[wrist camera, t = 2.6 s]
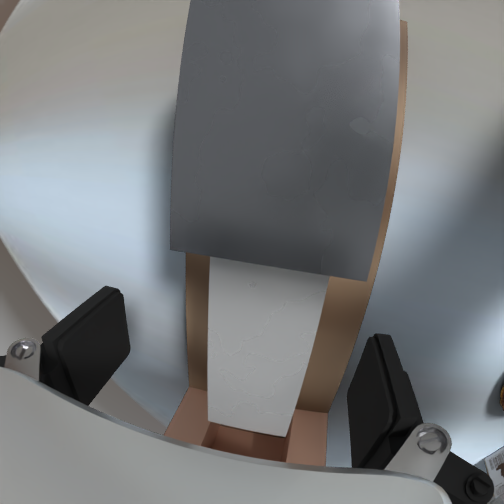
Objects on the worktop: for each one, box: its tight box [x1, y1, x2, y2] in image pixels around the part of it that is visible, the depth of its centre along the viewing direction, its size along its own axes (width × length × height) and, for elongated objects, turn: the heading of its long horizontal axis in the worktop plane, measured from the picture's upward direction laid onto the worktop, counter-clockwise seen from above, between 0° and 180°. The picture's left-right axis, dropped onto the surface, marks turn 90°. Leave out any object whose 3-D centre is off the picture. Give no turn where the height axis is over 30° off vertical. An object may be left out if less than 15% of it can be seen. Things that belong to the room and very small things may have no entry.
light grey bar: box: [208, 257, 330, 437], centre depth 12 cm, size 18×4×4 cm, turn 175°
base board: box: [186, 20, 408, 438], centre depth 16 cm, size 30×10×2 cm, turn 175°
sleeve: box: [170, 0, 400, 282], centre depth 10 cm, size 10×6×6 cm, turn 175°
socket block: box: [164, 387, 328, 466], centre depth 17 cm, size 6×10×7 cm, turn 85°
